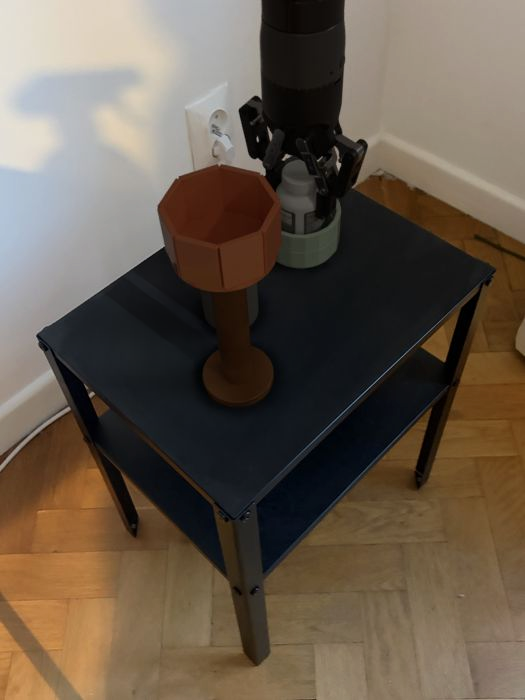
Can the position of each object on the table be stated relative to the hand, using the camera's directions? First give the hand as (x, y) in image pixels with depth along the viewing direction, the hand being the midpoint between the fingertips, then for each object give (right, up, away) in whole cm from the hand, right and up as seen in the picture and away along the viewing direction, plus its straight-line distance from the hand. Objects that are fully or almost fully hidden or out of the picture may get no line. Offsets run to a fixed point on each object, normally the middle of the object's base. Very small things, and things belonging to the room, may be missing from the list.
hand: (300, 203), depth 78 cm
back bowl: (0, -3, +5) cm, 6 cm away
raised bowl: (-7, -8, -20) cm, 23 cm away
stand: (-6, -19, -6) cm, 21 cm away
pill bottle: (0, -3, +5) cm, 6 cm away
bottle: (-7, -12, -1) cm, 14 cm away
